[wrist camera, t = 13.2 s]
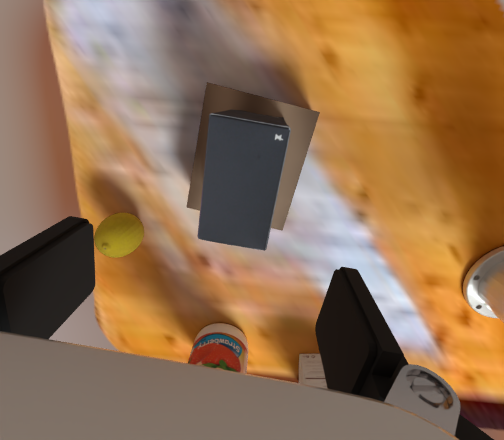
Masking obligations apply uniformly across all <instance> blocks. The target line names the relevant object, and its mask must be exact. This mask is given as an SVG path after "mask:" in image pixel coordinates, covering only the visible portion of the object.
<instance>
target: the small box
mask: <svg viewBox="0 0 504 440" xmlns="http://www.w3.org/2000/svg"><path fill="white" fill-rule="evenodd" d="M290 133H291V129H290V127H289V126H288V125H287V123H286V122H285V119H284V117H282V118H281V117H272V116H268V115H262V114H256V113H250V112H247V111H243V110H232V109H230V110H226V111H222V112H216V113H211V114H210V115H209V123H208V134H207V144H206V155H205V166H204V177H203V188H202V198H201V208H200V218H199V228H198V238H199V239H202V240H206V241H212V242H217V243H223V244H228V245H235V246H241V247H246V248H252V249H258V250H266V248H267V243H268V239H269V234H270V229H271V224H272V220H273V215H274V210H275V205H276V201H277V196H278V191H279V186H280V181H281V176H282V172H283V166H284V162H285V157H286V152H287V147H288V142H289V137H290Z"/></svg>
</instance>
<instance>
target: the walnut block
mask: <svg viewBox="0 0 504 440" xmlns="http://www.w3.org/2000/svg"><path fill="white" fill-rule="evenodd" d="M230 109H232V110H243V111H247V112H250V113H256V114H262V115H268V116H272V117H281V118H282V117H284V119H285V122H286V123H287V125H288V126H289V127H290V129H291V133H290V137H289V142H288V147H287V152H286V157H285V162H284V166H283V172H282V176H281V181H280V186H279V191H278V196H277V201H276V205H275V210H274V215H273V220H272V224H271V228H274V229H278V230H283V227H284V224H285V221H286V217H287V214H288V211H289V208H290V205H291V202H292V198H293V195H294V192H295V189H296V186H297V183H298V179H299V176H300V173H301V170H302V167H303V164H304V160H305V157H306V154H307V151H308V148H309V145H310V141H311V138H312V135H313V132H314V129H315V126H316V122H317V119H318V116H319V113H320V112H317V111H313V110H309V109H306V108H302V107H298V106H294V105H291V104H287V103H283V102H279V101H276V100H272V99H268V98H264V97H261V96H257V95H253V94H249V93H245V92H242V91H238V90H234V89H230V88H227V87H223V86H219V85H215V84H212V83H208V82H207V85H206V91H205V97H204V103H203V109H202V116H201V122H200V128H199V134H198V140H197V146H196V152H195V159H194V165H193V171H192V177H191V183H190V189H189V195H188V202H187V208H192V209H196V210H200V208H201V198H202V188H203V177H204V166H205V155H206V144H207V134H208V123H209V115H210V114H211V113H216V112H222V111H226V110H230Z"/></svg>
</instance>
